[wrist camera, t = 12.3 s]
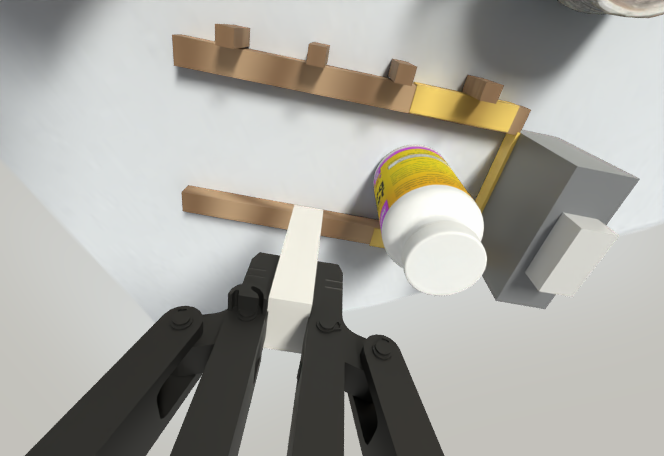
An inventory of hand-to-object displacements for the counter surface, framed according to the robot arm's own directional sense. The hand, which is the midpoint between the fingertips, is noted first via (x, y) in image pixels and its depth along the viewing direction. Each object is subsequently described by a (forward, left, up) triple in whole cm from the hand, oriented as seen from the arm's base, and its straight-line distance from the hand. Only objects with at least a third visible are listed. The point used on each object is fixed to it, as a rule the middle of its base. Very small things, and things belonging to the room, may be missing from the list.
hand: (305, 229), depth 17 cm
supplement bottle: (+8, -1, -14) cm, 16 cm away
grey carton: (+17, -1, -13) cm, 22 cm away
